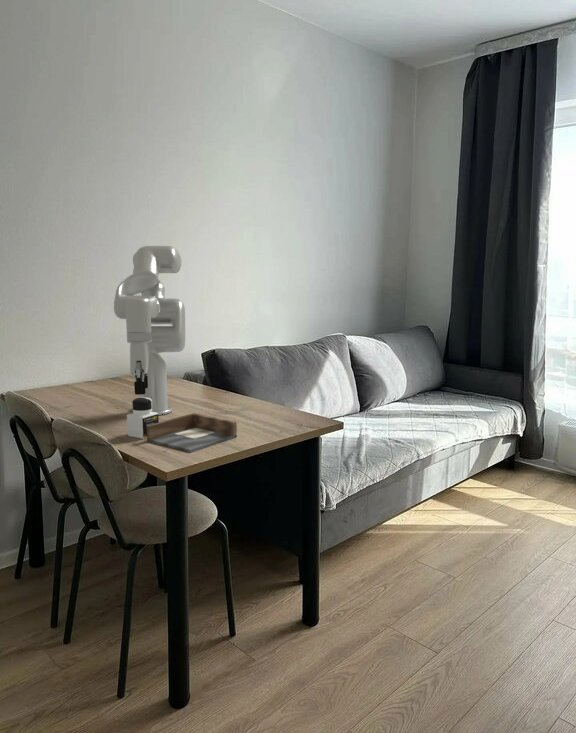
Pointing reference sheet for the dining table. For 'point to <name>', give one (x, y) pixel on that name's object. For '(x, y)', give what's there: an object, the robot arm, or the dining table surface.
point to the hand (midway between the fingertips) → (141, 391)
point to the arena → (191, 432)
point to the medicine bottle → (141, 418)
